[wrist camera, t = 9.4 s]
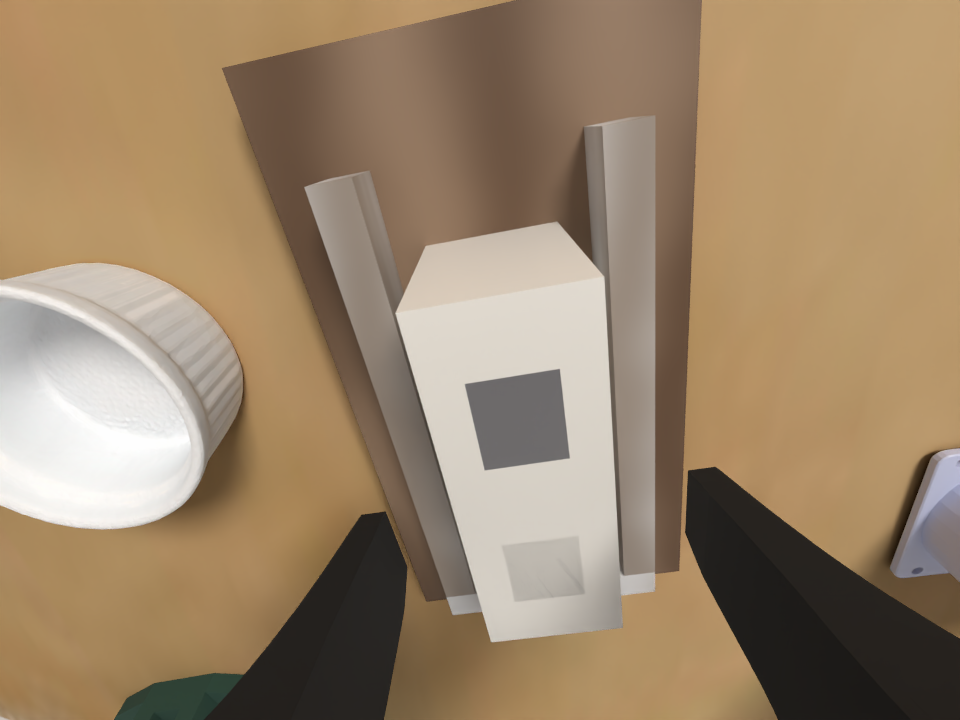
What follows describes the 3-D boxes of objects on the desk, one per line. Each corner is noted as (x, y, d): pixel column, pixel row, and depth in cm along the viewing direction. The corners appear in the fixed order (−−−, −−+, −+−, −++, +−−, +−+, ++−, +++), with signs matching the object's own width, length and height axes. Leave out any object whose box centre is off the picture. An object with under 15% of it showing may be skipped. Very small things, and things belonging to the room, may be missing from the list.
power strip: (557, 221, 13) (604, 276, 8) (583, 493, 18) (622, 627, 13) (425, 246, 13) (395, 313, 8) (487, 506, 18) (491, 642, 14)
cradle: (677, -24, 12) (750, -80, 8) (666, 543, 22) (698, 613, 19) (248, 74, 13) (173, 56, 9) (429, 573, 23) (421, 644, 20)
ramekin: (158, 205, 14) (41, 233, 10) (304, 415, 18) (257, 491, 14) (-42, 298, 16) (-209, 353, 12) (132, 474, 20) (48, 558, 16)
